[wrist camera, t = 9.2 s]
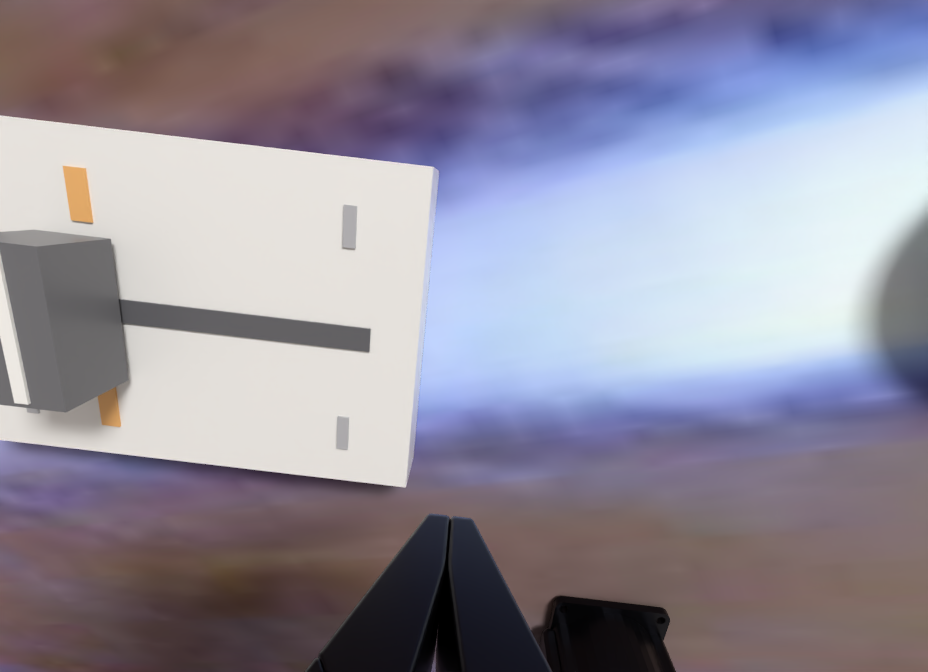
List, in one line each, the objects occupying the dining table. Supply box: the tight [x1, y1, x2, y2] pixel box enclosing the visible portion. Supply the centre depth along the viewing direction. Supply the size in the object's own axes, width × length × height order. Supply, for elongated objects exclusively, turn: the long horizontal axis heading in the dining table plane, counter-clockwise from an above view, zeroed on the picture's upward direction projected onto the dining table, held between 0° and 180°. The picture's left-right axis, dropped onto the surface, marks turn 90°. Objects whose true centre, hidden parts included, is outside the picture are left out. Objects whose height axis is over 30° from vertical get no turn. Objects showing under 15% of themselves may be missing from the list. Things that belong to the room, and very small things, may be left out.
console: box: [0, 116, 439, 487], centre depth 19 cm, size 20×14×3 cm
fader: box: [0, 230, 129, 412], centre depth 16 cm, size 3×6×3 cm, turn 174°
